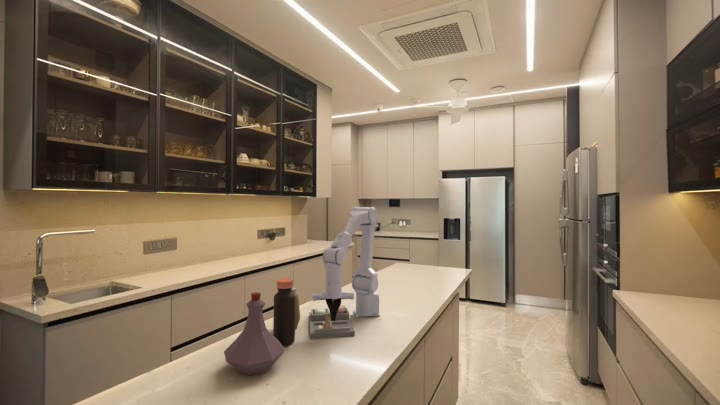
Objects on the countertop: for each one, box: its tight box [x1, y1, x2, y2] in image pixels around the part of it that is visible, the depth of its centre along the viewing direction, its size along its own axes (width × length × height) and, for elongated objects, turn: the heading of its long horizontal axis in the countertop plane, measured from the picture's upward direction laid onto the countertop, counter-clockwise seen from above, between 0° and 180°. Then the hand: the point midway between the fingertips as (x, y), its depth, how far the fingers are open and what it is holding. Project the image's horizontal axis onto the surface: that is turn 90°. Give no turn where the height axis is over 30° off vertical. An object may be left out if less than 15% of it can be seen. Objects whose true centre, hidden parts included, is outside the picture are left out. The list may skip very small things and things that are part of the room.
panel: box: [308, 307, 356, 339], centre depth 121 cm, size 15×22×4 cm
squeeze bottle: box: [287, 277, 301, 330], centre depth 118 cm, size 8×8×18 cm
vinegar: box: [272, 278, 296, 347], centre depth 106 cm, size 7×7×20 cm
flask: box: [223, 292, 286, 376], centre depth 90 cm, size 16×16×20 cm
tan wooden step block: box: [323, 312, 332, 328], centre depth 115 cm, size 3×5×4 cm, turn 10°
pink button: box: [337, 304, 346, 314], centre depth 127 cm, size 4×4×2 cm
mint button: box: [314, 308, 326, 315], centre depth 125 cm, size 4×4×2 cm
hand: (333, 320), depth 115 cm, fingers closed
